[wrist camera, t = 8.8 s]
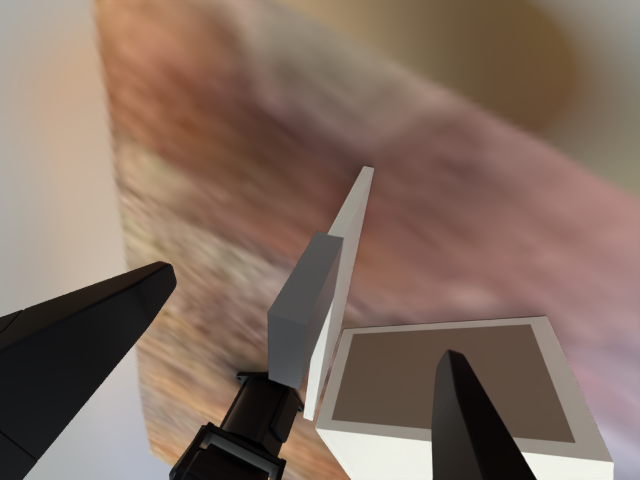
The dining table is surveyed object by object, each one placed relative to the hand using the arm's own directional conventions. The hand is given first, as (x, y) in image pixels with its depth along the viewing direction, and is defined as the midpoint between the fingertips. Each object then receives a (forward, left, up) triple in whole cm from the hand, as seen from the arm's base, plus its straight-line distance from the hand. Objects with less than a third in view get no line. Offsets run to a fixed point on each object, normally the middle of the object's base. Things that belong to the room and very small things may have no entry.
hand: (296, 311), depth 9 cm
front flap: (-3, -5, -10) cm, 11 cm away
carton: (+1, -17, -10) cm, 20 cm away
